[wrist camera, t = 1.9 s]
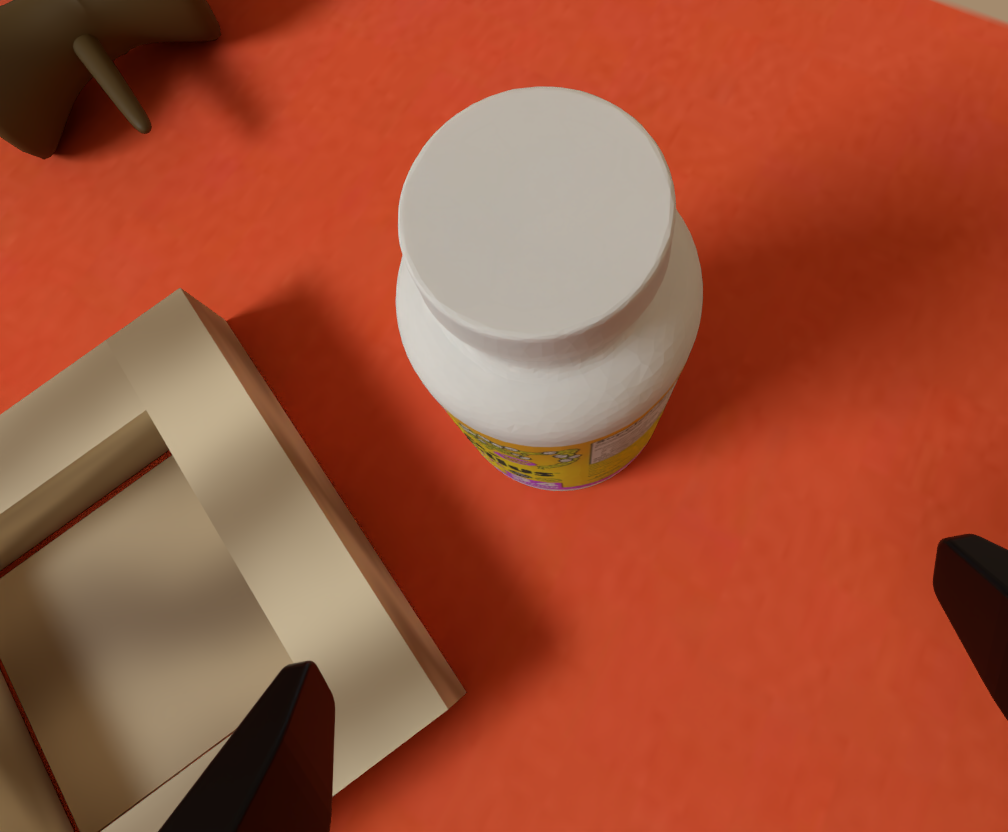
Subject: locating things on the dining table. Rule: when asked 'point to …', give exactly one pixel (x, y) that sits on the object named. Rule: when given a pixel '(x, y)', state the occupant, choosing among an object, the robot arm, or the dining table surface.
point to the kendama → (80, 58)
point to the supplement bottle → (547, 283)
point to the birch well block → (181, 582)
